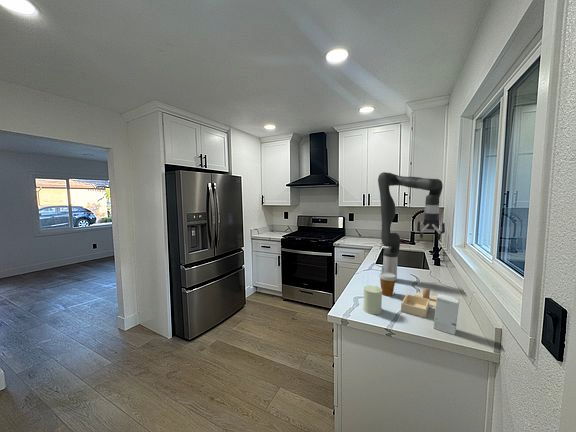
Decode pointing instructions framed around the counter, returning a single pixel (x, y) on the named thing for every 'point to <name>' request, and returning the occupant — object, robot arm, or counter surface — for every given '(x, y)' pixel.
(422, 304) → the tan shallow open box
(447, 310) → the skincare box
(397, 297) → the counter surface
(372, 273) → the counter surface
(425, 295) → the lid
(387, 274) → the disposable coffee cup
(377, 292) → the can
